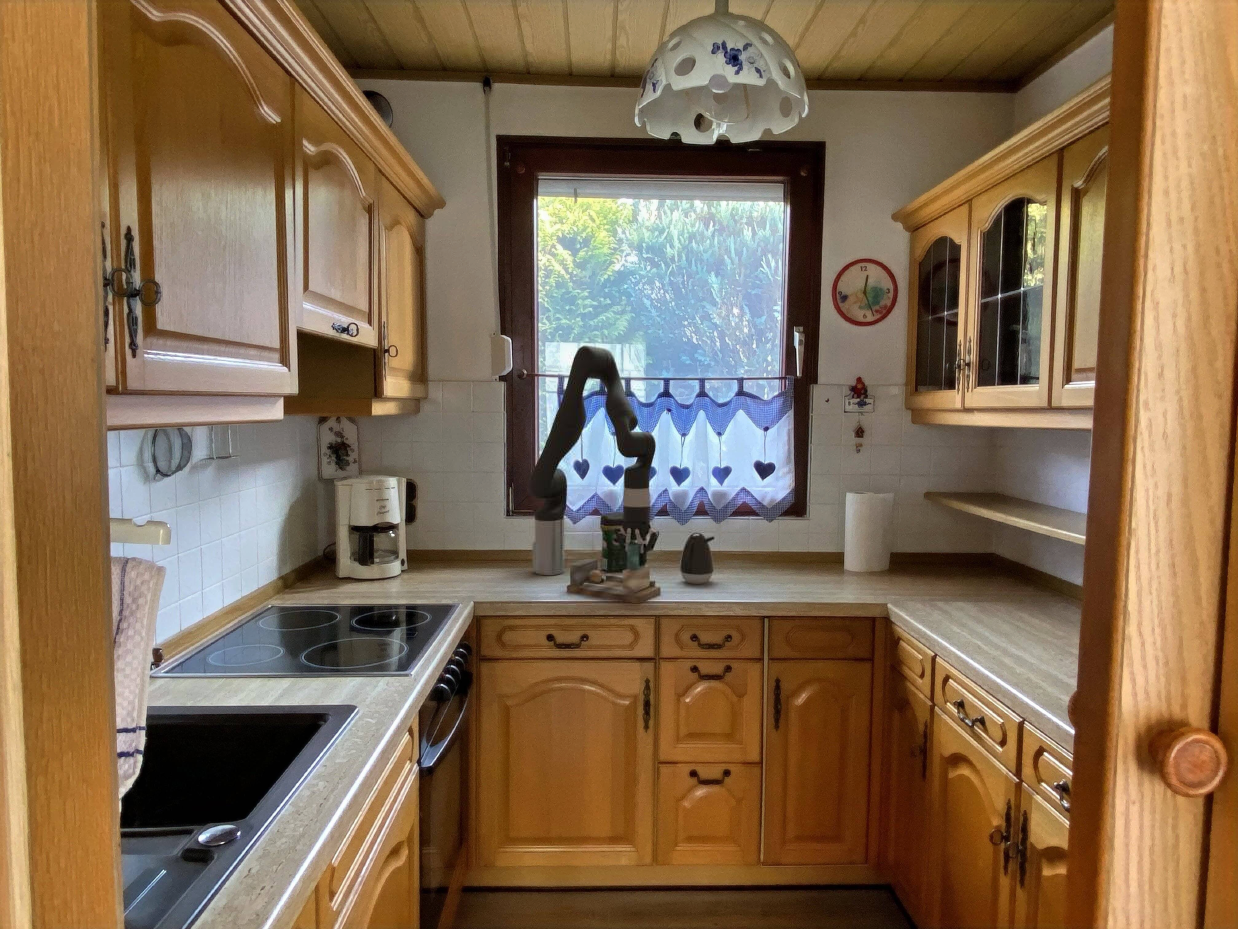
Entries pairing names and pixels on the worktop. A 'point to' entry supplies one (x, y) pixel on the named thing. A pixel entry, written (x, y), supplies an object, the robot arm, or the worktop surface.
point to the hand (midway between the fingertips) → (636, 564)
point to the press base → (606, 585)
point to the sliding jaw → (635, 570)
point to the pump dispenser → (697, 559)
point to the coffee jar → (612, 543)
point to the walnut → (595, 576)
